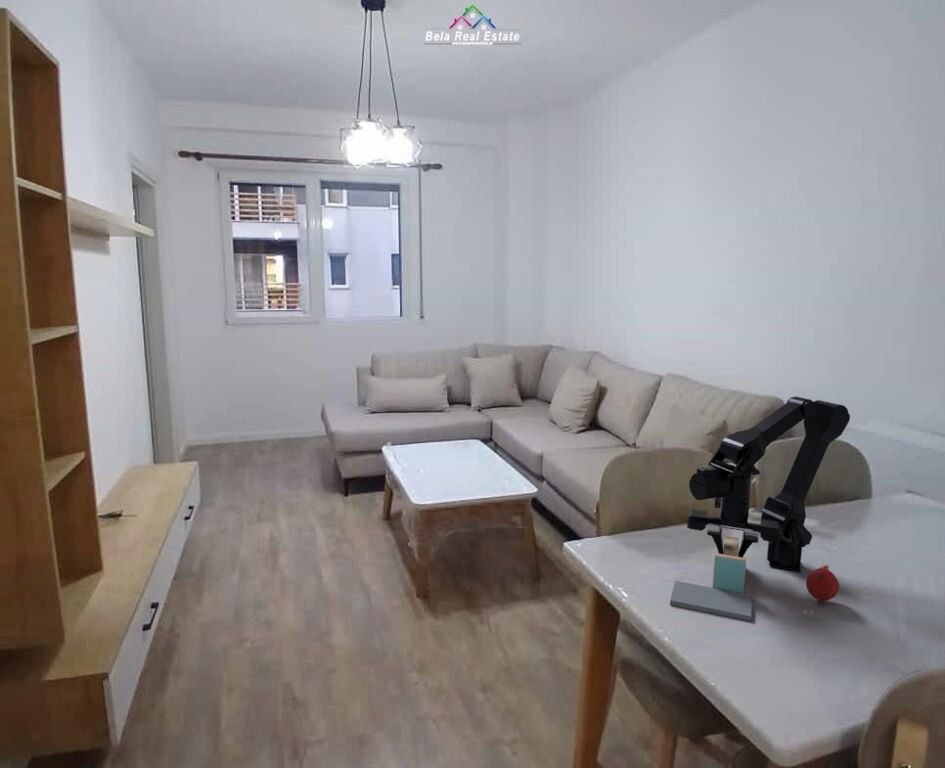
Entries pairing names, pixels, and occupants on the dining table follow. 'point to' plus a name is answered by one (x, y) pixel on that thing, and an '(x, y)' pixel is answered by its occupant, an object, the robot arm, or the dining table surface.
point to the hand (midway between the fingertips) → (730, 561)
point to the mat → (711, 600)
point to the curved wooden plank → (731, 546)
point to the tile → (729, 573)
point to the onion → (822, 584)
